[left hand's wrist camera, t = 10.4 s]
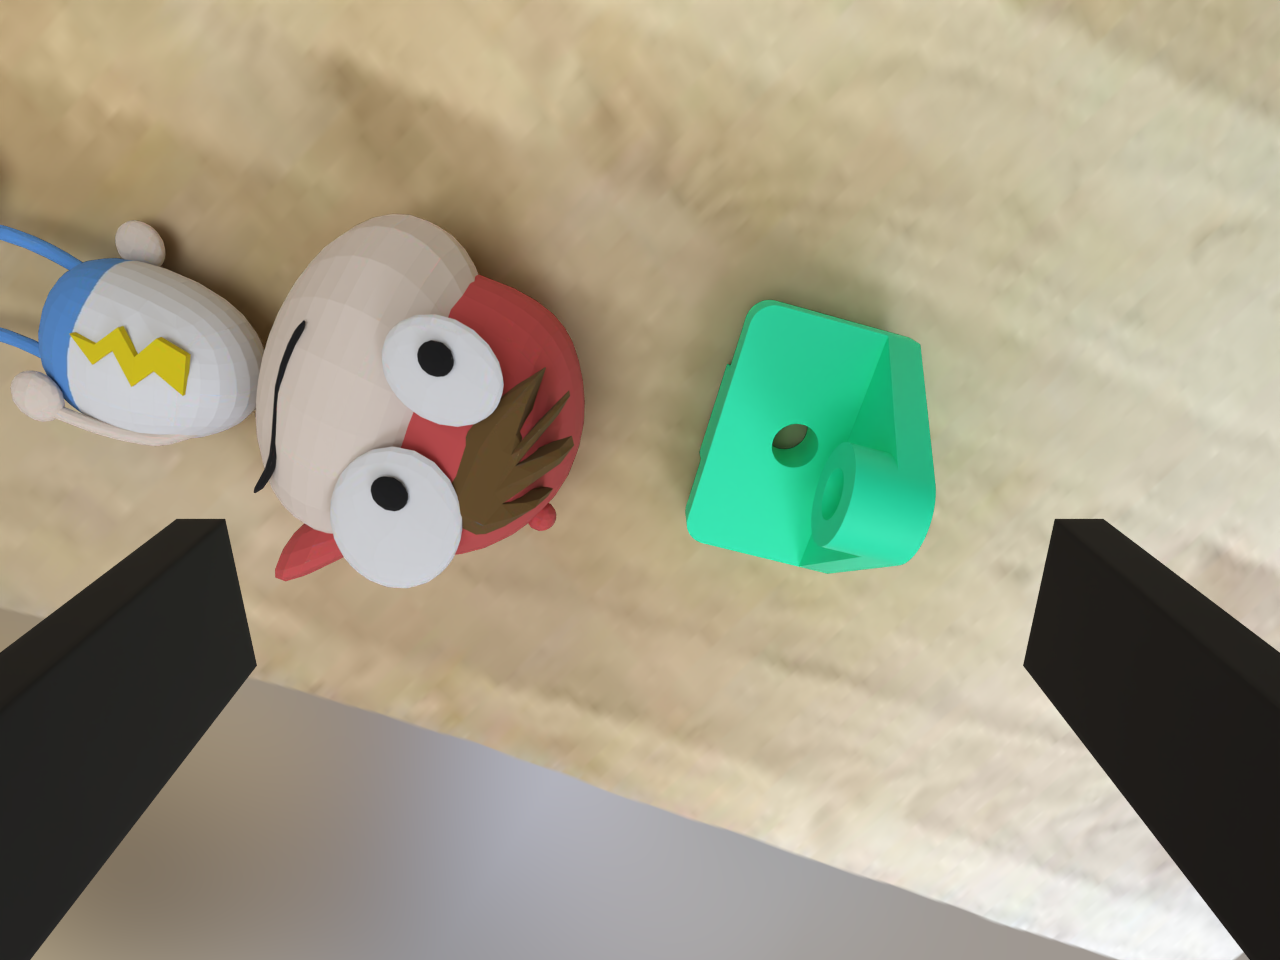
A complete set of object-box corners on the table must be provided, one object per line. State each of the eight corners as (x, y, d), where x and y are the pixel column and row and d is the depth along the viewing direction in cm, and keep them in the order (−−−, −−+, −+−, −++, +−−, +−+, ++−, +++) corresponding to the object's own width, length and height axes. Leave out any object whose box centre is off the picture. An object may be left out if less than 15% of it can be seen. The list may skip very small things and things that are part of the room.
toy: (-214, -54, 25) (624, 363, 27) (48, -4, 34) (661, 304, 36) (-193, 425, 33) (453, 727, 34) (16, 361, 42) (519, 602, 44)
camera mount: (750, 290, 37) (787, 334, 27) (902, 333, 37) (991, 389, 28) (679, 515, 41) (690, 621, 31) (816, 549, 42) (868, 663, 32)
